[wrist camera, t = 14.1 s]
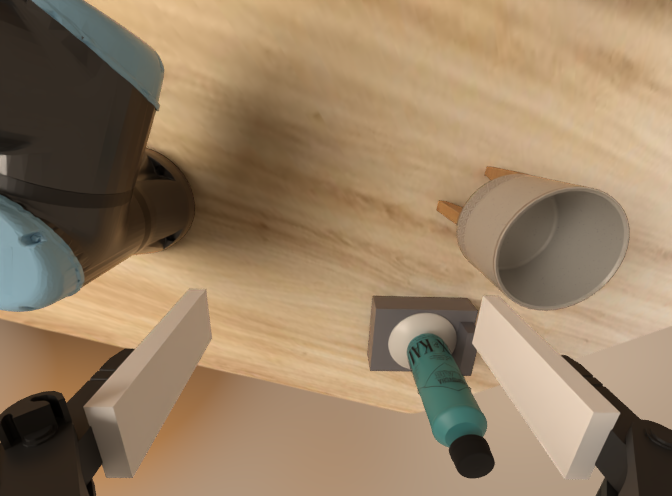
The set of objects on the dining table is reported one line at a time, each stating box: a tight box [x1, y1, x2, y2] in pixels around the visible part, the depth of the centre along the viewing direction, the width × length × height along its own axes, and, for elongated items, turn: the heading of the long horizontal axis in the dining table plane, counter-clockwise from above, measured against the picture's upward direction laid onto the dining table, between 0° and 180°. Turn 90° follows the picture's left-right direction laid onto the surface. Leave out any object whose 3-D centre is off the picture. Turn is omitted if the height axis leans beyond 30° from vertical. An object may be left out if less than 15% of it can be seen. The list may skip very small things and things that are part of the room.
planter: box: [437, 167, 629, 311], centre depth 39 cm, size 13×13×18 cm
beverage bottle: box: [406, 333, 495, 478], centre depth 41 cm, size 6×7×20 cm
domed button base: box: [367, 296, 478, 376], centre depth 51 cm, size 16×12×7 cm
